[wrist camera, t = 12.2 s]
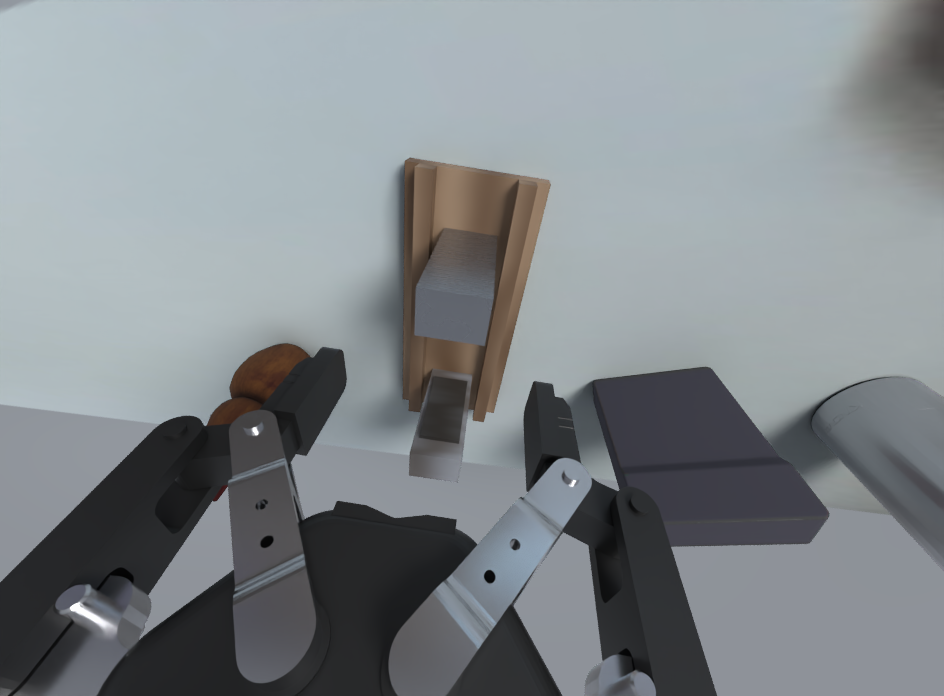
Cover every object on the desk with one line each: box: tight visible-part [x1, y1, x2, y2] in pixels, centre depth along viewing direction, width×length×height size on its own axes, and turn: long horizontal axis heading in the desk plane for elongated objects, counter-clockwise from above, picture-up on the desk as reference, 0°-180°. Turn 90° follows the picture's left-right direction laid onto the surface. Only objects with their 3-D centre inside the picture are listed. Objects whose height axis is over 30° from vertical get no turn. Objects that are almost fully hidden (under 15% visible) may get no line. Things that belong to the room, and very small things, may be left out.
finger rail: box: [403, 158, 551, 482], centre depth 26 cm, size 10×23×12 cm, turn 172°
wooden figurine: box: [207, 344, 310, 501], centre depth 30 cm, size 7×6×15 cm
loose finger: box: [414, 228, 497, 346], centre depth 22 cm, size 4×3×10 cm
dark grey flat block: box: [593, 367, 829, 547], centre depth 28 cm, size 11×4×15 cm, turn 104°
